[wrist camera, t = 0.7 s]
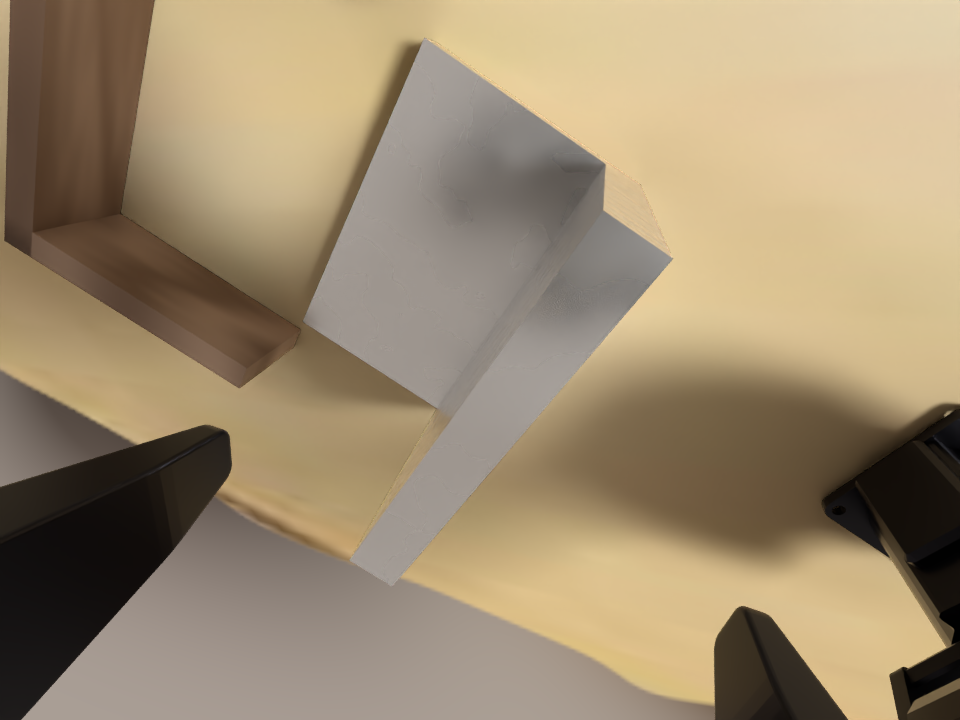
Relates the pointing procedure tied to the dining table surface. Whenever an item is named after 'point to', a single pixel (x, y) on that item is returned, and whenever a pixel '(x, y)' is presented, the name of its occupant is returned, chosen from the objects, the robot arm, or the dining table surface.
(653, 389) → the dining table surface
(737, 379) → the dining table surface
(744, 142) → the dining table surface
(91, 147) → the bay
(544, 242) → the bracket
